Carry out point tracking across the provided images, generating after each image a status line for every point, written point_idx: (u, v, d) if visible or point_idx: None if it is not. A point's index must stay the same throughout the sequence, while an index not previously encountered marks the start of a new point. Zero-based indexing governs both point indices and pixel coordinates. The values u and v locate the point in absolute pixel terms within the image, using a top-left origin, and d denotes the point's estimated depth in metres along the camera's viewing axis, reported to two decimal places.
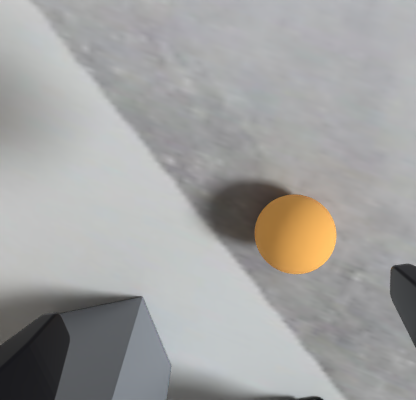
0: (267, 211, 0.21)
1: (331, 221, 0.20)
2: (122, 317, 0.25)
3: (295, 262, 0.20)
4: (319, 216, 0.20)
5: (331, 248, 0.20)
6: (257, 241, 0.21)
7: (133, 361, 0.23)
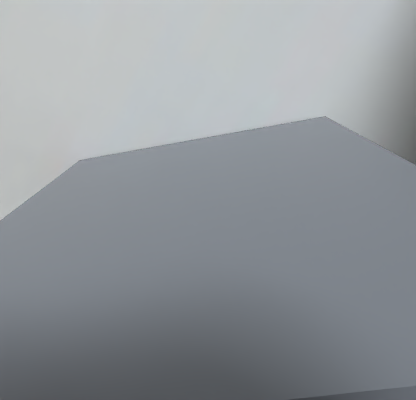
0: None
1: None
2: None
3: None
4: None
5: None
6: None
7: (38, 229, 0.06)
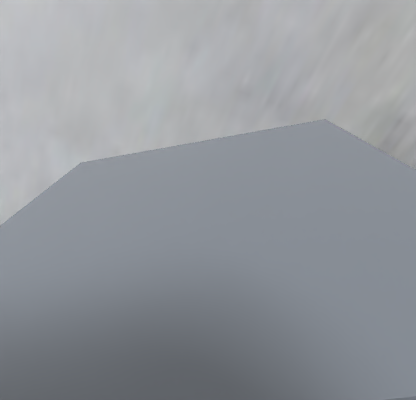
0: None
1: None
2: None
3: None
4: None
5: None
6: None
7: (39, 234, 0.06)
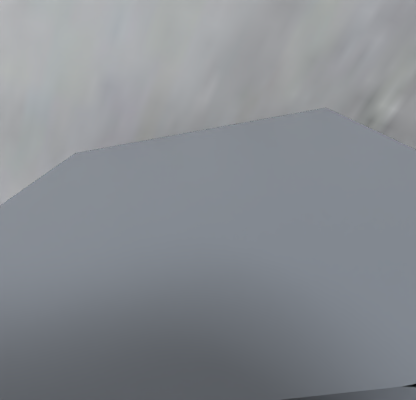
0: None
1: None
2: None
3: None
4: None
5: None
6: None
7: (27, 221, 0.06)
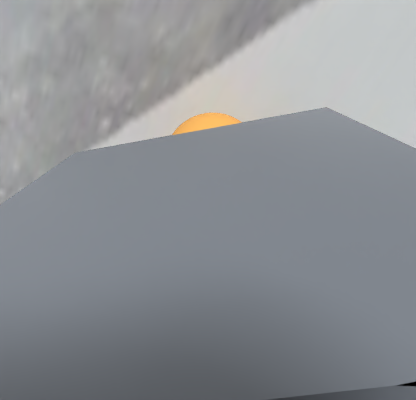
0: None
1: None
2: None
3: None
4: None
5: None
6: (196, 122, 0.16)
7: (27, 220, 0.06)
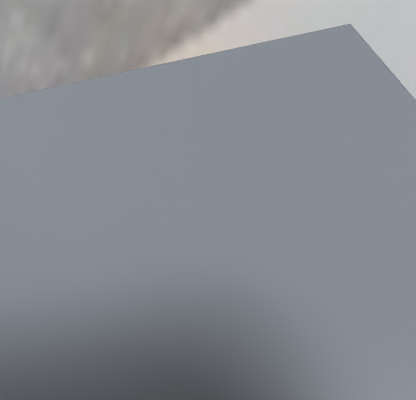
0: None
1: None
2: None
3: None
4: None
5: None
6: None
7: None
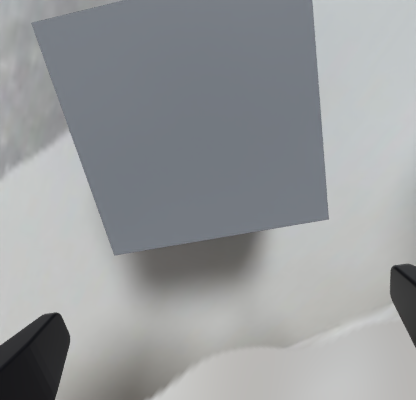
0: None
1: None
2: None
3: None
4: None
5: None
6: None
7: None
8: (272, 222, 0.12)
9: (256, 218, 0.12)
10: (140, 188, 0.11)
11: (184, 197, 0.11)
